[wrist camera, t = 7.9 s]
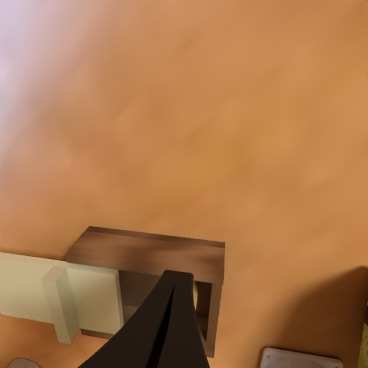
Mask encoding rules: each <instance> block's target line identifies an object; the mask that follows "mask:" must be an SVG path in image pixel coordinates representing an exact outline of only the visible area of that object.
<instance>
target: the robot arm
mask: <svg viewBox="0 0 368 368" xmlns="http://www.w3.org/2000/svg"><path fill="white" fill-rule="evenodd" d="M193 280H194V275H193V274H192V273H188V272H181V271H173V270H165V271H164V272H163V274H162V276H161V277H160V279H159V281H158V282H157V284H156V285H155V287H154V288H153V290H152V291H151V292H150V294H149V295H148V296H147V298H146V299H145V300H144V302H143V303H142V304H141V306H140V307H139V308H138V309H137V310H136V312H135V313H134V314H133V315H132V316H131V318H130V319H129V320H128V321H127V322H126V323H125V324H124V325H123V326H122V328H121V329H120V330H119V331H118V332H117V333H116V334H115V335H114V336H113V337H112V338H111V339H110V340H109V341H108V342H107V343H105V344H104V345H103V346H102V347H101V348H100V349H99V350H98V351H97V352H96V353H95V354H93V355H92V356H91V357H90V358H89V359H88V360H86V361H85V362H84V363H83V364H81V365H80V366H79V367H78V368H210V367H209V363H208V360H207V357H206V354H205V350H204V347H203V343H202V340H201V336H200V331H199V327H198V322H197V317H196V311H195V305H194V297H193ZM342 367H343V363H342V361H341V360H339V359H333V358H327V357H321V356H316V355H310V354H304V353H298V352H292V351H286V350H280V349H274V348H265V349H264V351H263V355H262V359H261V363H260V367H259V368H342Z"/></svg>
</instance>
